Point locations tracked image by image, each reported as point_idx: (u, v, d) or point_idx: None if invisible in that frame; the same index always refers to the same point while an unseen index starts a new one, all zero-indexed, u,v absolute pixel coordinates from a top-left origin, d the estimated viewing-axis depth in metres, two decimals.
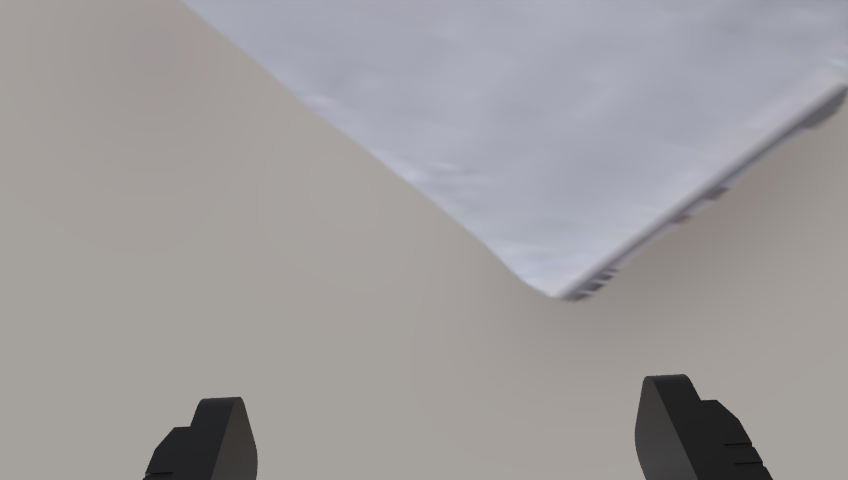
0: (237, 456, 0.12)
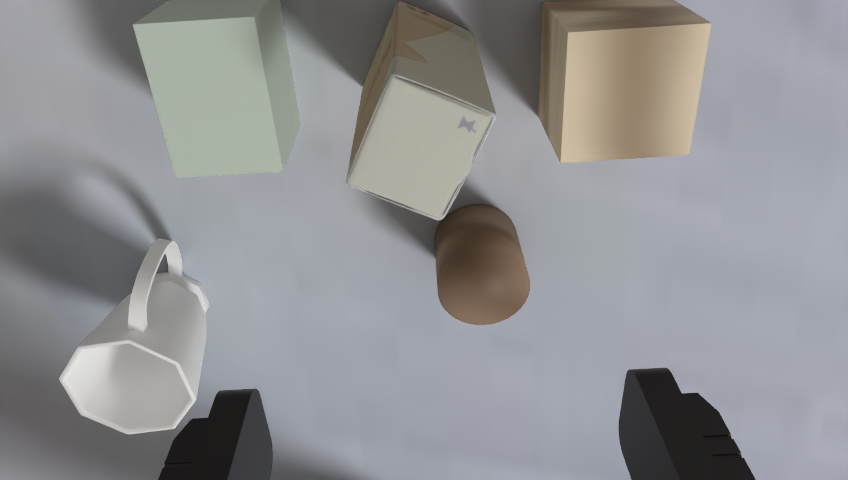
0: (254, 447, 0.12)
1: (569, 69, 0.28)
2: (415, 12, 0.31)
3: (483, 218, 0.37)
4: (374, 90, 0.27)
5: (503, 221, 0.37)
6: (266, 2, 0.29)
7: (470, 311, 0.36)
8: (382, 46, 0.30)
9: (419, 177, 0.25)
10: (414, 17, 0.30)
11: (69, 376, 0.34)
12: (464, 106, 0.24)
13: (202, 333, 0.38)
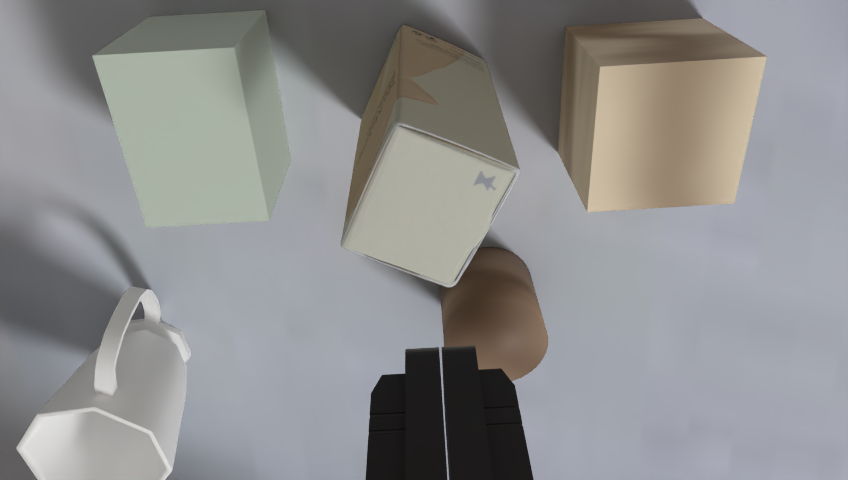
0: None
1: (600, 108, 0.24)
2: (421, 38, 0.27)
3: (495, 264, 0.33)
4: (374, 134, 0.23)
5: (517, 267, 0.33)
6: (250, 28, 0.25)
7: (480, 369, 0.32)
8: (383, 77, 0.27)
9: (427, 240, 0.21)
10: (420, 45, 0.26)
11: (28, 444, 0.30)
12: (482, 160, 0.20)
13: (181, 389, 0.35)
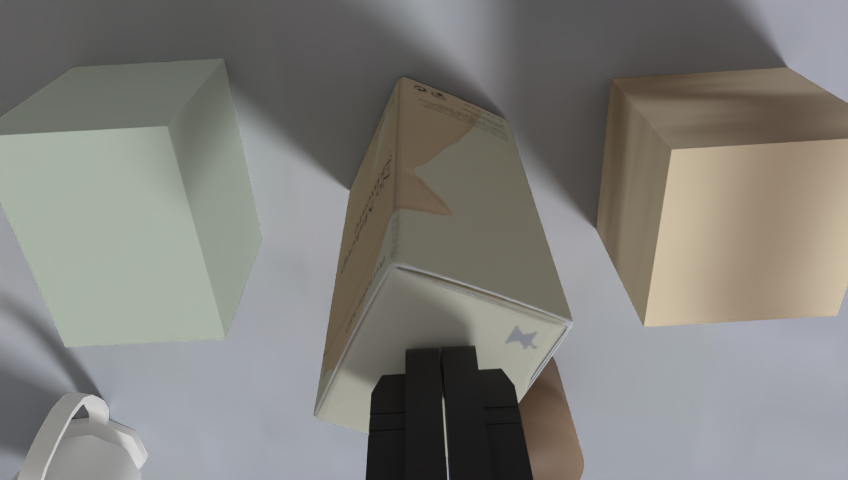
0: None
1: (668, 202, 0.18)
2: (426, 96, 0.21)
3: None
4: (363, 247, 0.16)
5: None
6: (197, 89, 0.19)
7: None
8: (377, 150, 0.20)
9: None
10: (425, 108, 0.20)
11: None
12: (519, 311, 0.13)
13: None
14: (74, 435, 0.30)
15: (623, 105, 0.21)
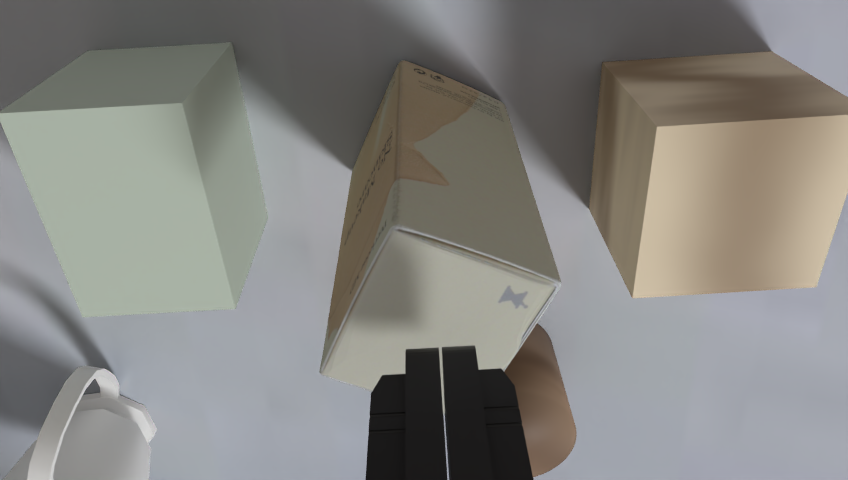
0: None
1: (655, 177, 0.19)
2: (425, 79, 0.22)
3: None
4: (365, 217, 0.17)
5: (538, 341, 0.28)
6: (209, 70, 0.20)
7: None
8: (378, 129, 0.21)
9: None
10: (424, 89, 0.21)
11: None
12: (511, 272, 0.14)
13: None
14: (86, 410, 0.31)
15: (613, 87, 0.22)
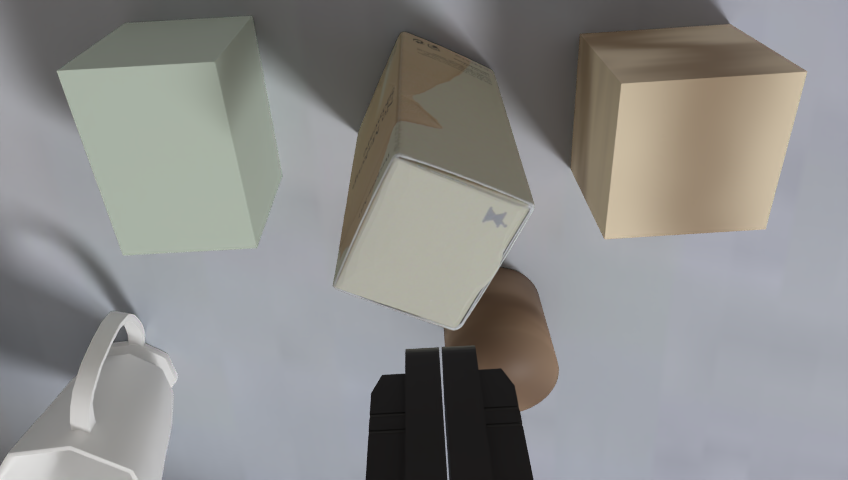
0: None
1: (621, 128, 0.22)
2: (423, 47, 0.25)
3: (501, 287, 0.31)
4: (371, 159, 0.20)
5: (525, 290, 0.31)
6: (234, 37, 0.23)
7: None
8: (381, 91, 0.24)
9: (430, 281, 0.19)
10: (422, 55, 0.24)
11: None
12: (492, 195, 0.17)
13: (167, 417, 0.32)
14: None
15: (588, 55, 0.25)
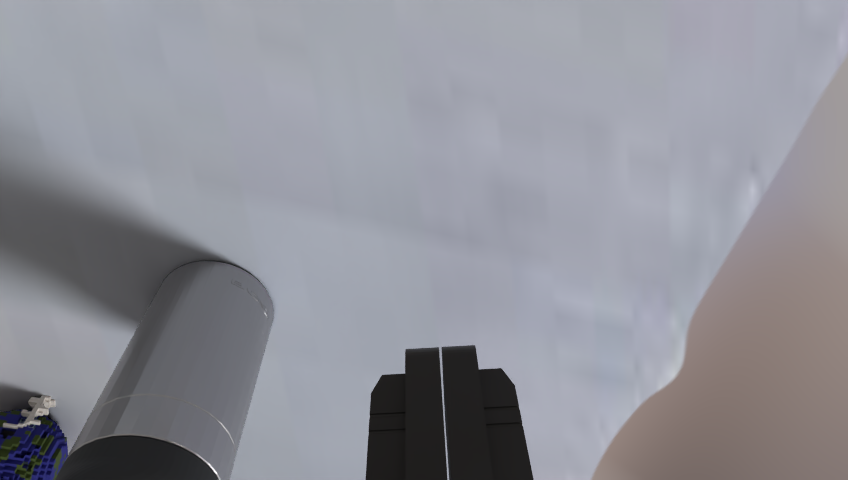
0: None
1: None
2: None
3: None
4: None
5: None
6: None
7: None
8: None
9: None
10: None
11: None
12: None
13: None
14: None
15: None
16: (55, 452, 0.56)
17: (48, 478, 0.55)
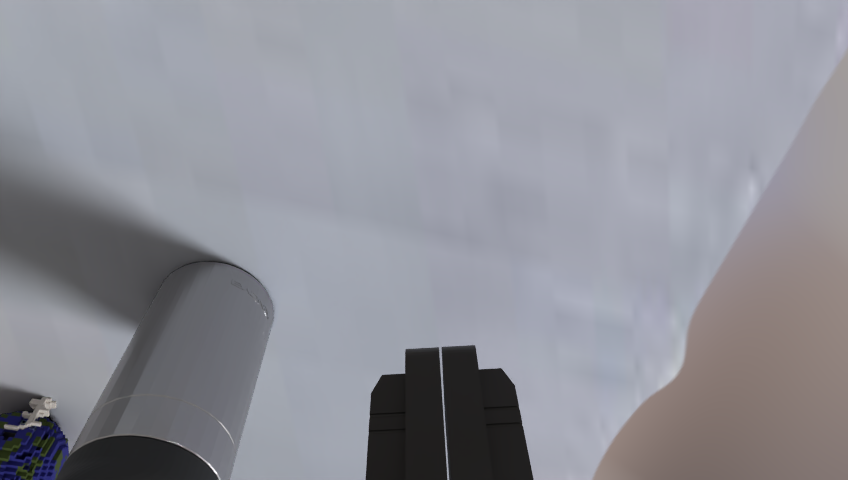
0: None
1: None
2: None
3: None
4: None
5: None
6: None
7: None
8: None
9: None
10: None
11: None
12: None
13: None
14: None
15: None
16: (56, 454, 0.56)
17: None
